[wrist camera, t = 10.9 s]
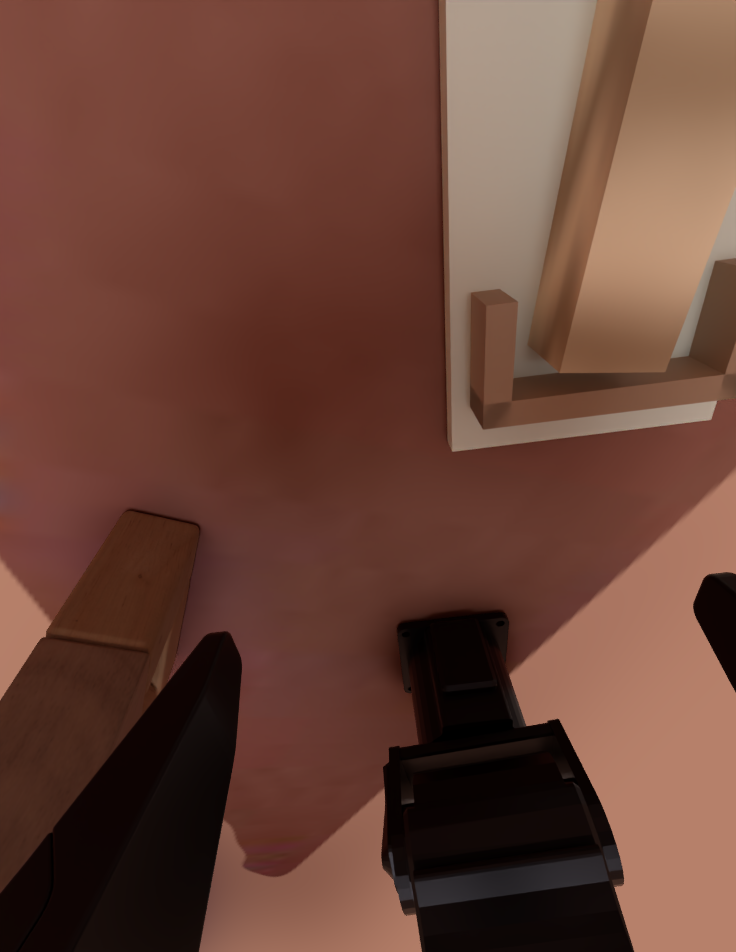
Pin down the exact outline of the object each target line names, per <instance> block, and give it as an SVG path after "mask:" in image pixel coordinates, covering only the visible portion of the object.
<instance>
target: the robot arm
mask: <svg viewBox="0 0 736 952" xmlns="http://www.w3.org/2000/svg"><path fill="white" fill-rule="evenodd" d="M693 609H694V613H695V616H696V619H697V620H698V622H699V624H700V626H701V628H702V630H703V632H704V634H705V635H706V637H707V639H708V641H709V643H710V645H711V647H712V649H713V651H714V653H715V654H716V656H717V658H718V660H719V662H720V664H721V665H722V668H723V670H724V671H725V673H726V675H727V677H728V679H729V681H730V683H731V685H732V686H733V688H734V690H735V692H736V574H733V573H728V572H725V573H716V574H709V575H707V576H706V577H705V578H704V579H703V581H702V584H701V586H700V589H699V591H698V593H697V596H696V598H695V601H694V604H693ZM508 627H509V621H508V618H507V615H506V614H505V613H502V612H498V613H489V614H481V615H472V616H464V617H455V618H446V619H438V620H429V621H421V622H412V623H404V624H401V625H399V626H398V628H397V634H398V642H399V651H400V659H401V667H402V675H403V684H404V690H405V692H407V693H412V699H413V706H414V713H415V720H416V727H417V735H418V742H419V745H413V746H407V747H401V748H400V746H395V747H389V763H388V764H386V765H385V766H384V767H383V773H384V786H385V816H384V828H383V840H382V852H381V853H382V854H381V856H382V857H381V858H382V866H383V869H384V870H385V871H386V872H387V873H388V874H389V875H390V877H391V878H392V879H393V880H394V884H395V887H396V891H397V893H398V894H399V899H400V903H401V906H402V910H403V912H404V914H405V915H406V916H407V915H414V914H416V916H417V922H418V928H419V935H420V942H421V948H422V952H634V950H633V946H632V943H631V940H630V937H629V934H628V931H627V928H626V924H625V921H624V917H623V914H622V911H621V908H620V905H619V901H618V898H617V895H616V892H615V888H614V887H616V886H622V885H623V884H624V876H623V869H622V865H621V860H620V856H619V853H618V849H617V845H616V842H615V840H614V836H613V833H612V830H611V828H610V825H609V822H608V820H607V817H606V814H605V812H604V809H603V807H602V805H601V802H600V800H599V798H598V796H597V794H596V792H595V790H594V788H593V786H592V784H591V782H590V780H589V778H588V776H587V774H586V772H585V770H584V768H583V766H582V764H581V762H580V760H579V758H578V756H577V754H576V752H575V750H574V748H573V746H572V744H571V742H570V740H569V738H568V736H567V734H566V732H565V730H564V728H563V726H562V725H561V723H560V721H559V719H555V720H549V721H548V723H543V724H538V725H532V726H526V724H525V721H524V719H523V715H522V712H521V709H520V707H519V704H518V701H517V698H516V695H515V692H514V689H513V686H512V683H511V680H510V677H509V674H508V671H507V668H506V665H505V662H506V651H507V639H508ZM241 674H242V662H241V657H240V654H239V652H238V650H237V647H236V645H235V643H234V641H233V638H232V636H231V634H230V633H229V632H227V631H223V632H214V633H209V634H207V635H206V636H204V637H203V639H202V640H201V641H200V642H199V644H198V645H197V646H196V647H195V649H194V650H193V651H192V652H191V654H190V655H189V656H188V658H187V659H186V660H185V661H184V663H183V664H182V665H181V666H180V668H179V669H178V670H177V671H176V673H175V674H174V675H173V676H172V678H171V679H170V680H169V681H168V683H167V684H166V685H165V687H164V688H163V689H162V690H161V692H160V693H159V694H158V695H157V697H156V698H155V699H154V700H153V702H152V703H151V704H150V705H149V707H148V708H147V709H146V710H145V712H144V713H143V714H142V716H141V717H140V718H139V719H138V721H137V722H136V723H135V724H134V726H133V727H132V728H131V729H130V731H129V732H128V733H127V734H126V736H125V737H124V738H123V740H122V741H121V742H120V743H119V745H118V746H117V747H116V748H115V750H114V751H113V752H112V753H111V755H110V756H109V757H108V758H107V760H106V761H105V762H104V763H103V765H102V766H101V767H100V769H99V770H98V771H97V772H96V774H95V775H94V776H93V777H92V779H91V780H90V781H89V782H88V784H87V785H86V786H85V787H84V789H83V790H82V791H81V792H80V794H79V795H78V796H77V798H76V799H75V800H74V801H73V803H72V804H71V805H70V806H69V808H68V809H67V810H66V811H65V813H64V814H63V815H62V816H61V818H60V819H59V820H58V821H57V823H56V824H55V825H54V827H53V829H52V832H50V833H48V834H47V835H46V836H45V838H44V839H43V840H42V841H41V843H40V844H39V845H38V846H37V848H36V849H35V850H34V851H33V853H32V854H31V855H30V857H29V858H28V859H27V860H26V862H25V863H24V864H23V865H22V866H21V868H20V869H19V870H18V871H17V873H16V874H15V875H14V876H13V877H12V879H11V880H10V881H9V882H8V883H7V885H6V886H5V887H4V888H3V890H2V891H1V892H0V952H199V948H200V942H201V937H202V931H203V925H204V920H205V915H206V910H207V903H208V898H209V893H210V888H211V882H212V877H213V871H214V866H215V860H216V855H217V850H218V844H219V839H220V833H221V828H222V822H223V817H224V812H225V806H226V801H227V795H228V790H229V784H230V779H231V773H232V768H233V762H234V756H235V748H236V738H237V725H238V712H239V699H240V686H241Z"/></svg>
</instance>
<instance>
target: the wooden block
mask: <svg viewBox="0 0 736 952" xmlns="http://www.w3.org/2000/svg"><path fill="white" fill-rule="evenodd" d="M199 534H200V533H199V529H198V526H196V525H194V524H190V523H185V522H181V521H176V520H171V519H167V518H162V517H158V516H153V515H149V514H144V513H140V512H135V511H126V512H124V513H123V514H122V516H121V517H120V519H119V520H118V522H117V523H116V525H115V526H114V528H113V529H112V531H111V533H110V534H109V536H108V537H107V539H106V540H105V542H104V543H103V545H102V546H101V548H100V549H99V551H98V553H97V554H96V556H95V557H94V559H93V560H92V562H91V563H90V565H89V566H88V568H87V569H86V571H85V572H84V574H83V576H82V577H81V579H80V580H79V582H78V583H77V585H76V586H75V588H74V589H73V591H72V592H71V594H70V596H69V597H68V599H67V600H66V602H65V603H64V605H63V606H62V608H61V609H60V611H59V612H58V614H57V615H56V617H55V619H54V620H53V622H52V623H51V625H50V626H49V628H48V629H47V631H46V637H44V638H42V639H40V641H39V642H38V643H37V645H36V646H35V648H34V650H33V651H32V653H31V654H30V656H29V657H28V659H27V661H26V662H25V664H24V665H23V666H22V668H21V670H20V671H19V673H18V674H17V676H16V677H15V679H14V680H13V682H12V684H11V685H10V686H9V688H8V690H7V691H6V693H5V694H4V696H3V697H2V699H1V700H0V892H1V891H2V890H3V888H4V887H5V886H6V885H7V883H8V882H9V881H10V880H11V879H12V877H13V876H14V875H15V874H16V873H17V871H18V870H19V869H20V868H21V866H22V865H23V864H24V863H25V862H26V860H27V859H28V858H29V857H30V855H31V854H32V853H33V851H34V850H35V849H36V848H37V846H38V845H39V844H40V843H41V841H42V840H43V839H44V838H45V836H46V835H47V834H48V833H50V832H52V829H53V827H54V825H55V824H56V823H57V821H58V820H59V819H60V818H61V816H62V815H63V814H64V813H65V811H66V810H67V809H68V808H69V806H70V805H71V804H72V803H73V801H74V800H75V799H76V798H77V796H78V795H79V794H80V792H81V791H82V790H83V789H84V787H85V786H86V785H87V784H88V782H89V781H90V780H91V779H92V777H93V776H94V775H95V774H96V772H97V771H98V770H99V769H100V767H101V766H102V765H103V763H104V762H105V761H106V760H107V758H108V757H109V756H110V755H111V753H112V752H113V751H114V750H115V748H116V747H117V746H118V745H119V743H120V742H121V741H122V740H123V738H124V737H125V736H126V734H127V733H128V732H129V731H130V729H131V728H132V727H133V726H134V724H135V723H136V722H137V721H138V719H139V718H140V717H141V716H142V714H143V713H144V712H145V710H146V709H147V708H148V707H149V705H150V704H151V703H152V702H153V700H154V699H155V698H156V697H157V695H158V694H159V693H160V692H161V690H162V689H163V688H164V687H165V685H166V684H167V681H168V679H169V676H170V673H171V670H172V667H173V664H174V661H175V658H176V653H177V648H178V642H179V637H180V632H181V627H182V622H183V616H184V611H185V606H186V601H187V596H188V590H189V585H190V582H189V580H190V577H191V575H192V570H193V565H194V560H195V554H196V549H197V544H198V539H199Z"/></svg>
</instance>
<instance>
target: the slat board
mask: <svg viewBox="0 0 736 952" xmlns="http://www.w3.org/2000/svg"><path fill="white" fill-rule="evenodd" d="M596 4H597V0H439V43H440V93H441V142H442V192H443V242H444V292H445V342H446V392H447V441H448V443H449V446H450V448H451V450H452V452H455V451H463V450H471V449H479V448H487V447H495V446H503V445H511V444H519V443H527V442H536V441H544V440H552V439H560V438H568V437H576V436H584V435H592V434H600V433H608V432H616V431H625V430H633V429H641V428H649V427H657V426H665V425H673V424H681V423H689V422H697V421H705V420H711V418H712V415H713V412H714V409H715V406H716V403H717V401H718V400H726V399H734V398H736V188H735V190H734V193H733V196H732V198H731V201H730V203H729V206H728V209H727V211H726V214H725V217H724V219H723V222H722V224H721V227H720V230H719V232H718V235H717V238H716V240H715V243H714V245H713V248H712V251H711V253H710V256H709V259H708V261H707V264H706V266H705V269H704V272H703V274H702V277H701V280H700V282H699V285H698V287H697V290H696V293H695V295H694V298H693V301H692V303H691V306H690V308H689V311H688V314H687V316H686V319H685V322H684V324H683V327H682V329H681V332H680V335H679V337H678V340H677V342H676V345H675V348H674V350H673V353H672V356H671V358H670V361H669V363H668V366H667V369H666V371H665V372H640V373H559V372H558V371H557V370H556V369H554V368H553V367H552V366H551V365H550V364H549V363H548V362H546V361H545V360H544V359H543V358H542V357H541V356H540V355H539V354H537V353H536V352H535V351H534V350H533V349H532V348H531V347H529V346H528V345H527V344H528V339H529V334H530V329H531V324H532V320H533V315H534V310H535V305H536V300H537V295H538V290H539V285H540V280H541V275H542V270H543V265H544V260H545V256H546V251H547V246H548V241H549V236H550V231H551V226H552V221H553V216H554V211H555V206H556V201H557V196H558V192H559V187H560V182H561V177H562V172H563V167H564V162H565V157H566V152H567V147H568V142H569V137H570V132H571V127H572V123H573V118H574V113H575V108H576V103H577V98H578V93H579V88H580V83H581V78H582V73H583V68H584V63H585V59H586V54H587V49H588V44H589V39H590V34H591V29H592V24H593V19H594V14H595V9H596Z"/></svg>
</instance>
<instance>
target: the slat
mask: <svg viewBox="0 0 736 952" xmlns="http://www.w3.org/2000/svg"><path fill="white" fill-rule="evenodd" d="M735 188H736V0H597V4H596V9H595V14H594V19H593V24H592V29H591V34H590V39H589V44H588V49H587V54H586V59H585V63H584V68H583V73H582V78H581V83H580V88H579V93H578V98H577V103H576V108H575V113H574V118H573V123H572V127H571V132H570V137H569V142H568V147H567V152H566V157H565V162H564V167H563V172H562V177H561V182H560V187H559V192H558V196H557V201H556V206H555V211H554V216H553V221H552V226H551V231H550V236H549V241H548V246H547V251H546V256H545V260H544V265H543V270H542V275H541V280H540V285H539V290H538V295H537V300H536V305H535V310H534V315H533V320H532V324H531V329H530V334H529V339H528V344H527V345H528V346H529V347H531V348H532V349H533V350H534V351H535V352H536V353H537V354H539V355H540V356H541V357H542V358H543V359H544V360H545V361H546V362H548V363H549V364H550V365H551V366H552V367H553V368H554V369H556V370H557V371H558V372H559V373H640V372H665V371H666V369H667V366H668V363H669V361H670V358H671V356H672V353H673V350H674V348H675V345H676V342H677V340H678V337H679V335H680V332H681V329H682V327H683V324H684V322H685V319H686V316H687V314H688V311H689V308H690V306H691V303H692V301H693V298H694V295H695V293H696V290H697V287H698V285H699V282H700V280H701V277H702V274H703V272H704V269H705V266H706V264H707V261H708V259H709V256H710V253H711V251H712V248H713V245H714V243H715V240H716V238H717V235H718V232H719V230H720V227H721V224H722V222H723V219H724V217H725V214H726V211H727V209H728V206H729V203H730V201H731V198H732V196H733V193H734V190H735Z"/></svg>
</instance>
